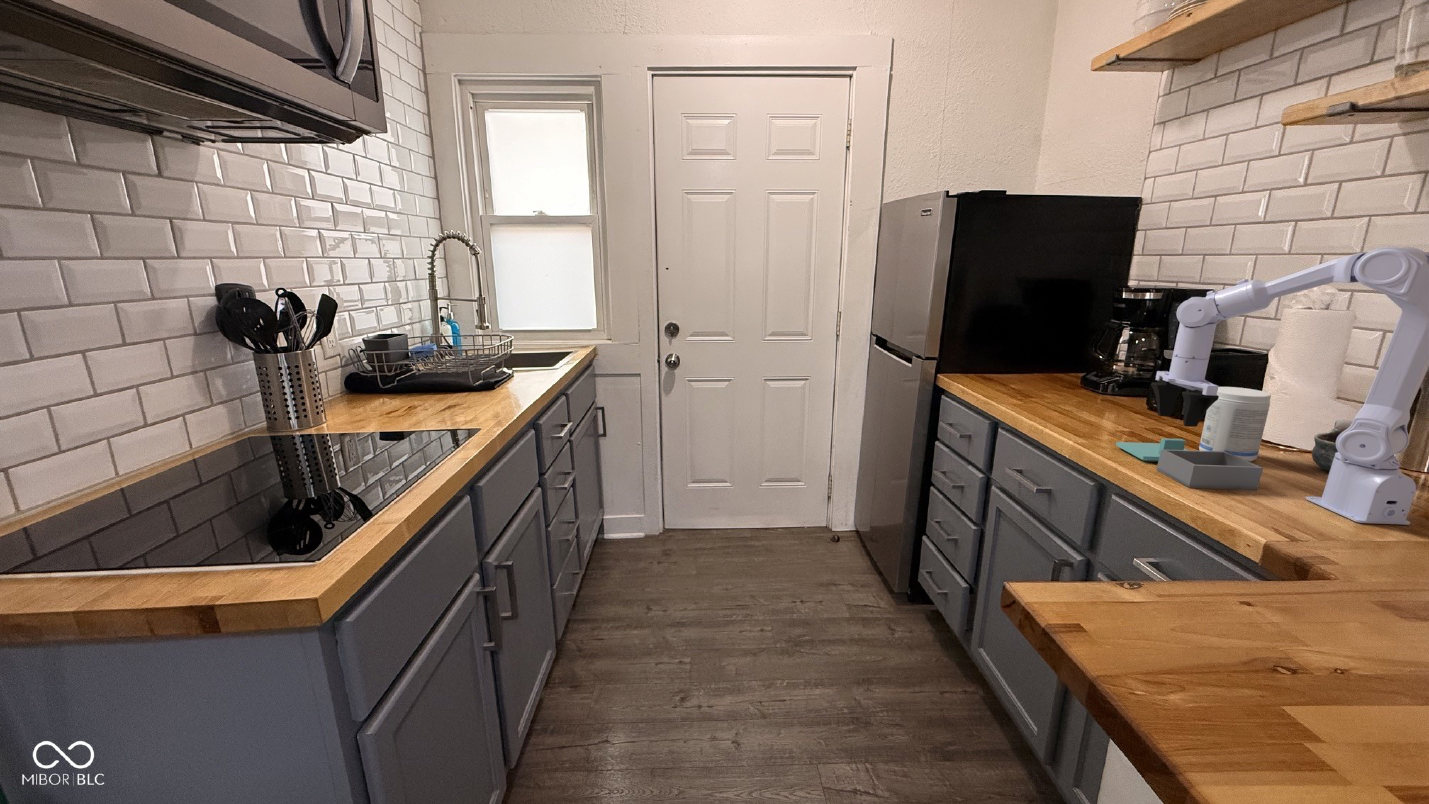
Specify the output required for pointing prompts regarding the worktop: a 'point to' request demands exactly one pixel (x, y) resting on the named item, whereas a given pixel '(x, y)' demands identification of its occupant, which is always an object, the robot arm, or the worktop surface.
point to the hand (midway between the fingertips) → (1176, 420)
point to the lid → (1151, 448)
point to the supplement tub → (1236, 422)
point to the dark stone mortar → (1328, 445)
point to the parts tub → (1209, 469)
